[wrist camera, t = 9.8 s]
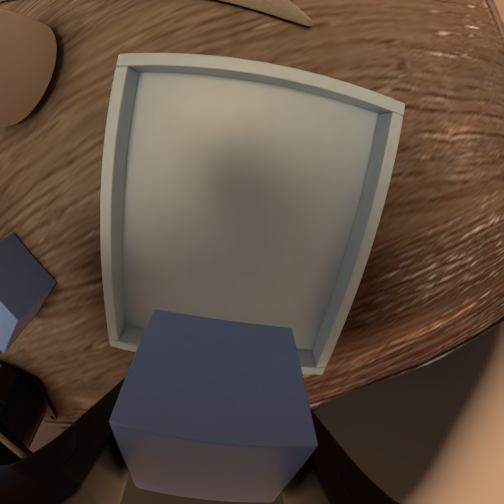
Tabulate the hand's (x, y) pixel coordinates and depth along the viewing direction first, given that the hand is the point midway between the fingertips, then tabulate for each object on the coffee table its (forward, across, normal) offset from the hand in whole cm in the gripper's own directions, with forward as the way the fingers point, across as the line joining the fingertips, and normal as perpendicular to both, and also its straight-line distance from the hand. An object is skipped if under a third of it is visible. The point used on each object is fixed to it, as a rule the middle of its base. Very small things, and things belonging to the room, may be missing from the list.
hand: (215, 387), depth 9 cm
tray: (+7, 0, -4) cm, 8 cm away
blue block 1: (+7, +14, +2) cm, 15 cm away
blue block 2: (+1, 0, 0) cm, 1 cm away
